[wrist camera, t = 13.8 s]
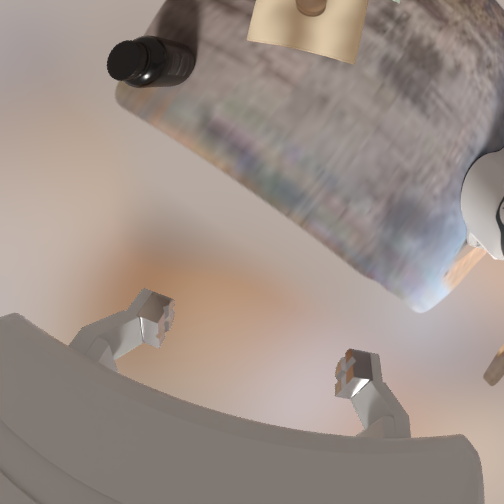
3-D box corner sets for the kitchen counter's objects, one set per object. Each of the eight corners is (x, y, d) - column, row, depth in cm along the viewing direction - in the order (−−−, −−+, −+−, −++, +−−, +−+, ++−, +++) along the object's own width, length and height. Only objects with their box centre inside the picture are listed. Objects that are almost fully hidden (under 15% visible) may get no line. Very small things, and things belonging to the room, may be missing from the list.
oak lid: (370, -16, 17) (378, -30, 13) (353, 64, 23) (361, 59, 19) (268, -37, 17) (261, -54, 13) (248, 40, 24) (238, 32, 20)
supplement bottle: (174, 34, 28) (125, 20, 18) (205, 61, 30) (163, 51, 20) (144, 69, 31) (90, 68, 21) (173, 95, 33) (123, 101, 23)
